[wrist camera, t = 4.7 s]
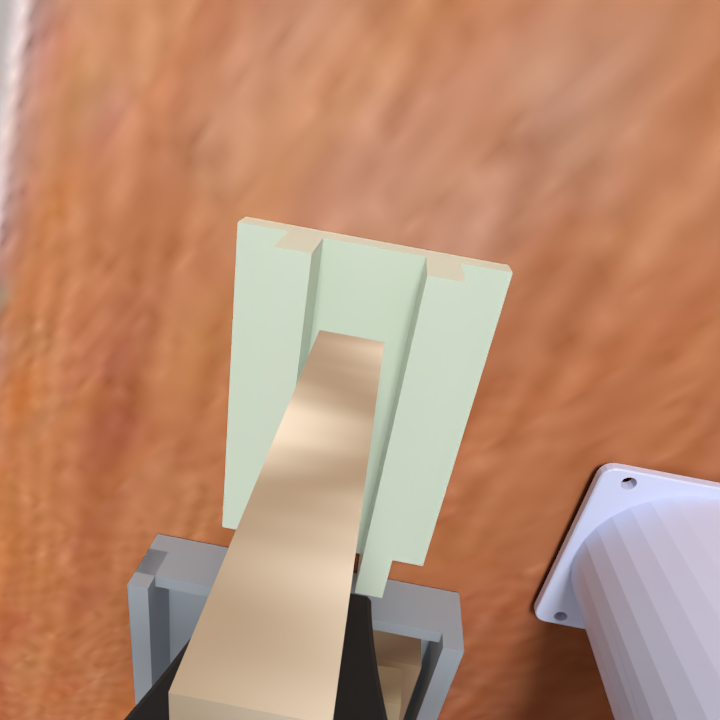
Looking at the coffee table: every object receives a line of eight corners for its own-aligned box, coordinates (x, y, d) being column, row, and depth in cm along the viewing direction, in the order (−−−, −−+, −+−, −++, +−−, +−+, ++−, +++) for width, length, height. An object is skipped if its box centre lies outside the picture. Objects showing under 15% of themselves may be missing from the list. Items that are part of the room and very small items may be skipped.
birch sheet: (384, 341, 12) (332, 725, 5) (328, 620, 16) (260, 1020, 9) (319, 329, 12) (167, 692, 5) (282, 610, 16) (179, 1003, 9)
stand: (508, 264, 15) (524, 293, 13) (422, 550, 21) (423, 606, 18) (246, 216, 15) (216, 235, 13) (229, 512, 21) (205, 563, 19)
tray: (459, 593, 22) (464, 651, 19) (403, 746, 27) (401, 806, 25) (158, 534, 22) (127, 584, 20) (162, 697, 27) (138, 752, 25)
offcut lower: (421, 635, 22) (421, 667, 21) (387, 737, 25) (385, 770, 24) (333, 617, 22) (328, 648, 21) (311, 722, 26) (306, 754, 24)
